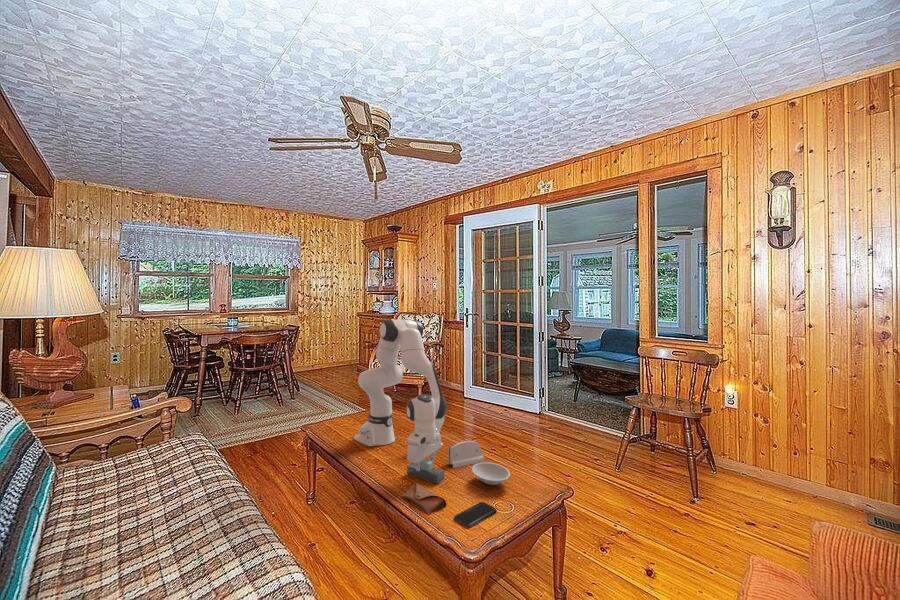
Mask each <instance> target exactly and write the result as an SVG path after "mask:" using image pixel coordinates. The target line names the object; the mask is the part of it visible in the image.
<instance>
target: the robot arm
mask: <svg viewBox="0 0 900 600" xmlns="http://www.w3.org/2000/svg"><path fill="white" fill-rule="evenodd" d="M423 326H424V325H423V324H422V323H421V322H420V321H418V320H416V319H415V320H414V319H412V320H411V319H405V318H404V319H403V318H400V319H386V320H385V319H384V320H383V321H382V322H381V323H380V325H379V330H378V331H379V337H380V339H379V340H378V345H377V348H376V353H375V358H376V360H377V362H379V363H380V364H381V365H380V366H379V367H374V368H369V369H366V370H364V371H362V372H360V373H359V375H358V381H357V383H358V386H359V387H360V389H362V390H363V391H364V392H365V393H366V395H368V398H369V404H370V413H369V414H368V415H366V417H367V418H368V419H367V421H366V422H364V423H363V424H362V425H361V426H360V427H359V429H358V434H356V435H354V437H353V440H354V441H357V442H359V443H360V444H363V445H365V446H366V447H367V446H368V447H375V446H385V445H389V444H393V443H394V442H395V441H396V437H395V433H394V427H393V419H394V413H393V403H392V402H393V401H392V398H391V397H390V396H389V395H387V394H386V393H385V391H384V388H389V387H394V386H395V385H398V384H400V383H401V382H402V380H403V376H404V375H403V370H402V368H401V367H400V366H399V365H398V356H399V352H400V359H401V363H402V365H403V366H404V368H406V369H407V370H409V371H410V372H413V373H416V374H420V375H422V376H423V377H425V378H426V380H427V382H428V386H429V389H430V392H431V395H430V394H425V393H424V394H423V393H421V394H419V395H417V396H416V397H415V398H411V399H409V401H407V403H406V405H405V415H406V417H407V418H408V420H410V421H412V422H415V423H414V424H415V425H414V430H413V431H412V432H411V434H409V435H408V436H407V438H406V442H407V443H408V444H407V448H406V458H407V463H410V464H412V463H413V464H415V466H416V471H420V470H421V466H420V465H419V463H420V461H421V460H422V459H426V458H427V457H429V456H430V457H429V458H428V461H432V462H433V463H434V462H435V458H436V454H437V451H439V450H441V448H442V445H441V443H442V437H441V433H440V430H439V429H437V428H436V426H435V419H442V418H443V417H444V415H445V416H446V415H447V412H448V404H447V401H446V399H445V396H444V394H443V391H442V388H441V387H442V386H441V384H440V382H439V381H440V380H439V377H438V374H437V371H436V368H435V365H434V363H433V362H432V361H430V360H429V359H428V357H427V356H426V353H425V346H424V342H423V338H422V337H423V336H424V327H423Z"/></svg>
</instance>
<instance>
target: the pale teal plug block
mask: <svg viewBox="0 0 900 600" xmlns="http://www.w3.org/2000/svg"><path fill="white" fill-rule="evenodd" d="M419 465H420V466H421V470H422V469H423V470H426V471H428V472H430V471H431V470H432V469H433V468H434V462H432V461H429V459H428V460H427V459H426V458H424V459H422V460H421V461H420V463H419Z"/></svg>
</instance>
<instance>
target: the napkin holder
mask: <svg viewBox="0 0 900 600" xmlns="http://www.w3.org/2000/svg"><path fill="white" fill-rule="evenodd" d="M447 450H448V451H447V453H448V465H452V468H453V469H456V468H460V467H464V466H469V465H473V464H474V465H475V464H478V463H483V462H485V458H484V455H483V453H482V452H483V451H482V449H481V445H480V443H479V442H477V441H472V440H471V441H470V440H469V441H467V440H466V441H461V442H457V443H455V444H453V445H451V446H450V447H448V449H447Z"/></svg>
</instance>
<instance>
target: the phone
mask: <svg viewBox="0 0 900 600" xmlns="http://www.w3.org/2000/svg"><path fill="white" fill-rule="evenodd" d="M497 512H498V511H497V508H496V507H494V506H492V505H490V504H489V503H486V502H484V501H480V502H478V503H476V504H474V505H472V506H470V507H468V508H466V509H465V510H462V511H461V512H459V513H457V514H454V516H453V520H454V521H455V522H457V523H458V524H460V525H461V526H463V527H465V528H467V529H470V528H472V527H474V526H476V525H478V524H480V523H481V522H483V521H485V520H487V519H488V518H490V517H492V516H494V515H496V514H497Z"/></svg>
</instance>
